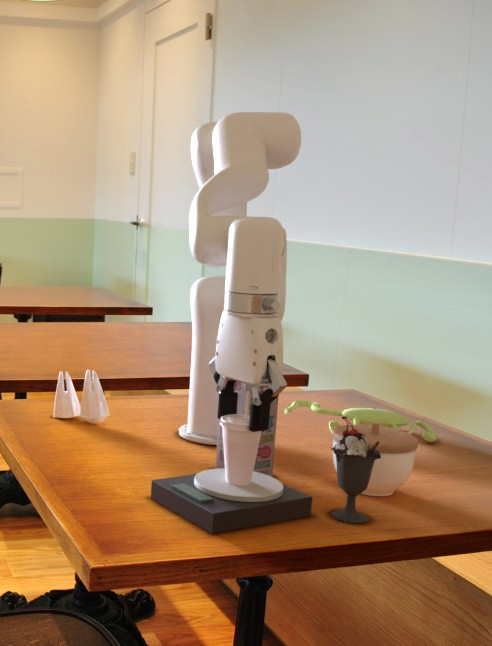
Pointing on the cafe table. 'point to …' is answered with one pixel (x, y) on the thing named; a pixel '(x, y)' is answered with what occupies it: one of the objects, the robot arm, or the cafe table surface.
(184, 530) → the cafe table surface
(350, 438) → the sundae
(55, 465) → the cafe table surface
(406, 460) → the lidded bowl
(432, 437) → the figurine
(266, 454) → the juice carton
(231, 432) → the smoothie
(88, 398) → the shaker set
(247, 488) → the scale
